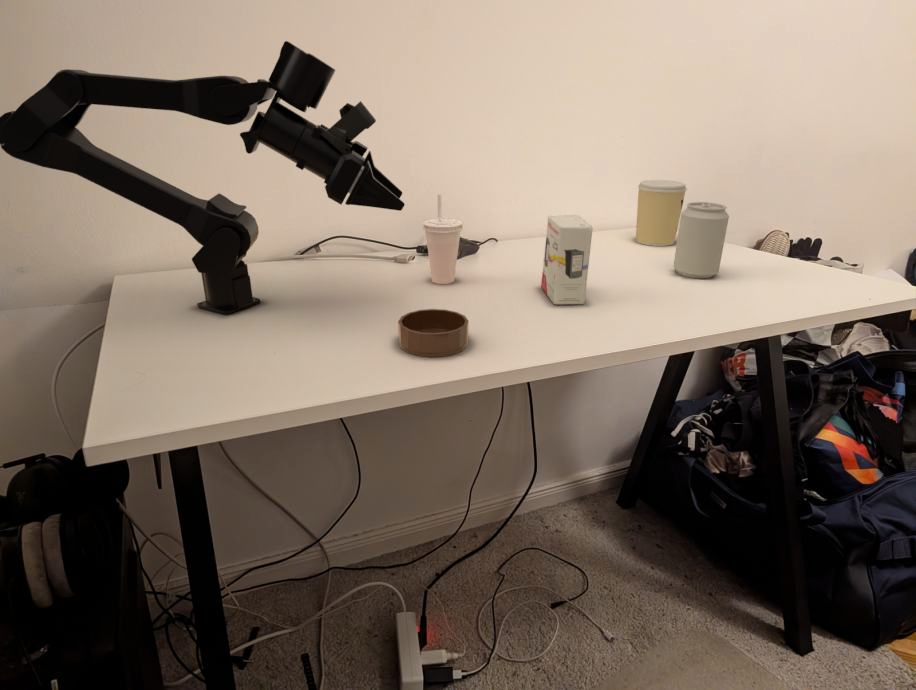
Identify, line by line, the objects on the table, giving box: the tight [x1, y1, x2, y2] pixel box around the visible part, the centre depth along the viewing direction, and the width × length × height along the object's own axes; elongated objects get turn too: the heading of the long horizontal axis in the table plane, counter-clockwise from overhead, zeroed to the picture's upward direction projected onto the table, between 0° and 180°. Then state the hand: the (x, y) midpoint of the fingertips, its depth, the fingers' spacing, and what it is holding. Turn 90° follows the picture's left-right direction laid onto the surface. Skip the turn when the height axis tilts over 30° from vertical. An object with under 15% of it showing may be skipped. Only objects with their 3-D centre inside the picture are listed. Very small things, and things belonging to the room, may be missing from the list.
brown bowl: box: [397, 308, 470, 358], centre depth 76 cm, size 9×9×3 cm
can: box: [672, 201, 730, 279], centre depth 103 cm, size 8×8×12 cm
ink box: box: [540, 214, 593, 305], centre depth 91 cm, size 9×5×12 cm, turn 6°
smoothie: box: [422, 194, 464, 285], centre depth 98 cm, size 6×6×14 cm
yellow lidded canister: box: [635, 179, 688, 247], centre depth 125 cm, size 9×9×12 cm
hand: (402, 201), depth 86 cm, fingers open, 9 cm apart
